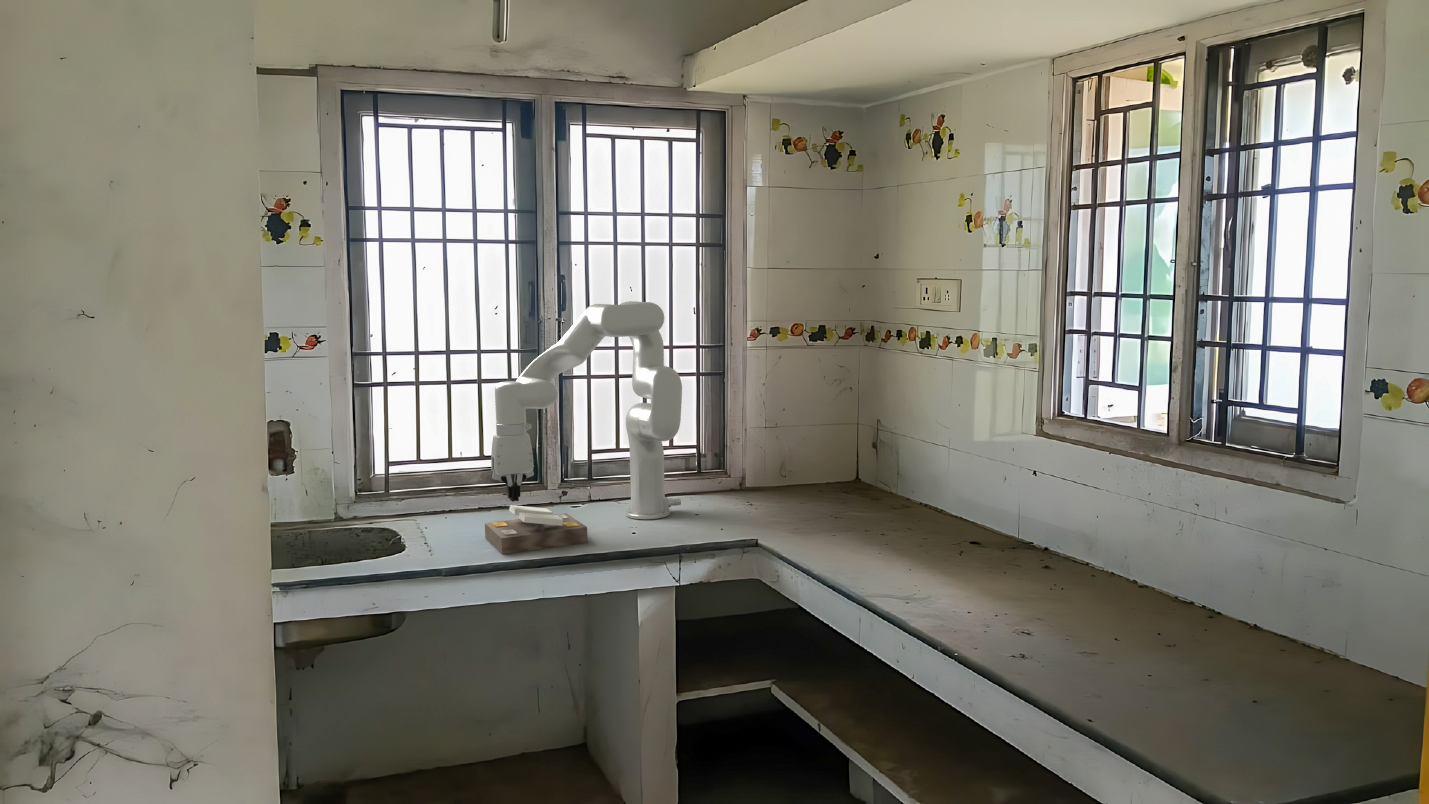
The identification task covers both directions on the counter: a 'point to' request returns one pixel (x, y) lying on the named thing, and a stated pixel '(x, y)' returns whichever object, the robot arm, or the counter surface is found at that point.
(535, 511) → the rocker far
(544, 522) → the rocker near
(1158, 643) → the counter surface
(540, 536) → the switch unit
